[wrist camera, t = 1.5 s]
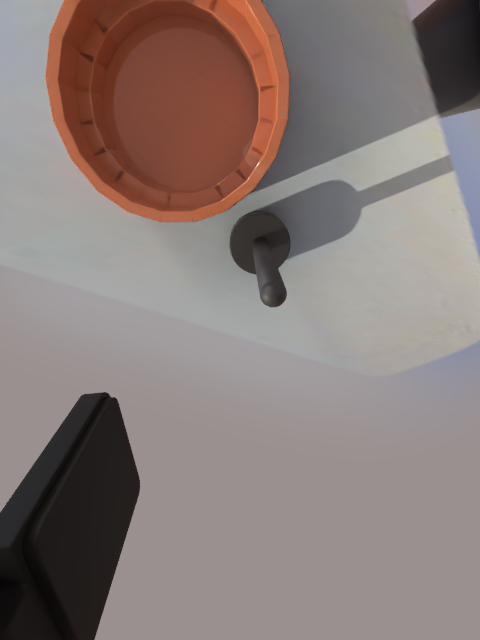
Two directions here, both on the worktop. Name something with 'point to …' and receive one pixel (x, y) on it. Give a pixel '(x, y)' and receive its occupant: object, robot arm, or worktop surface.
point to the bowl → (169, 100)
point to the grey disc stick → (262, 252)
